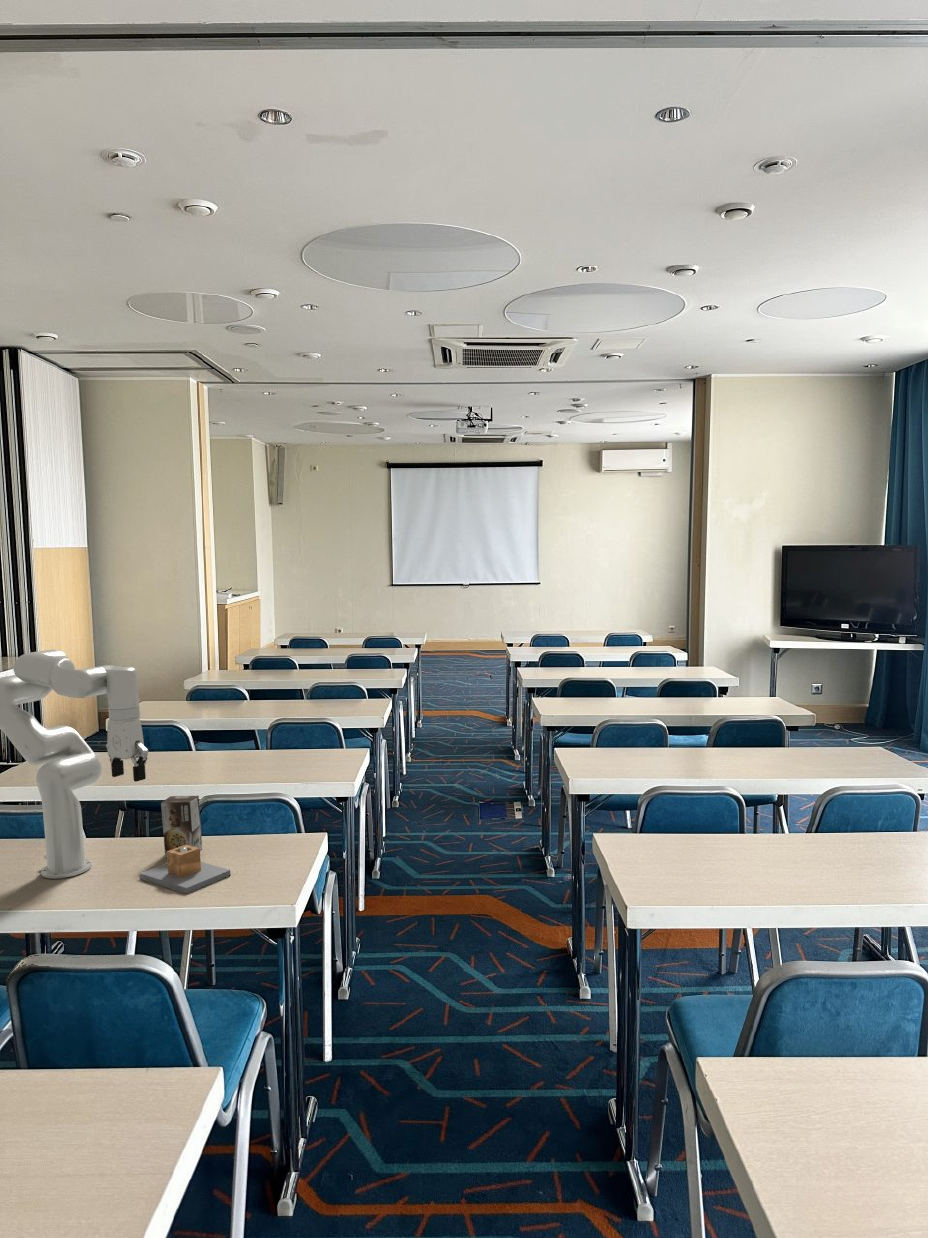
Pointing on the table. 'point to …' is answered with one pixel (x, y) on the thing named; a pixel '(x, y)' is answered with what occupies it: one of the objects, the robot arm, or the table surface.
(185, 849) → the rod
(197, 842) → the coffee box
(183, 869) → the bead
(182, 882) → the grey rectangular slab
